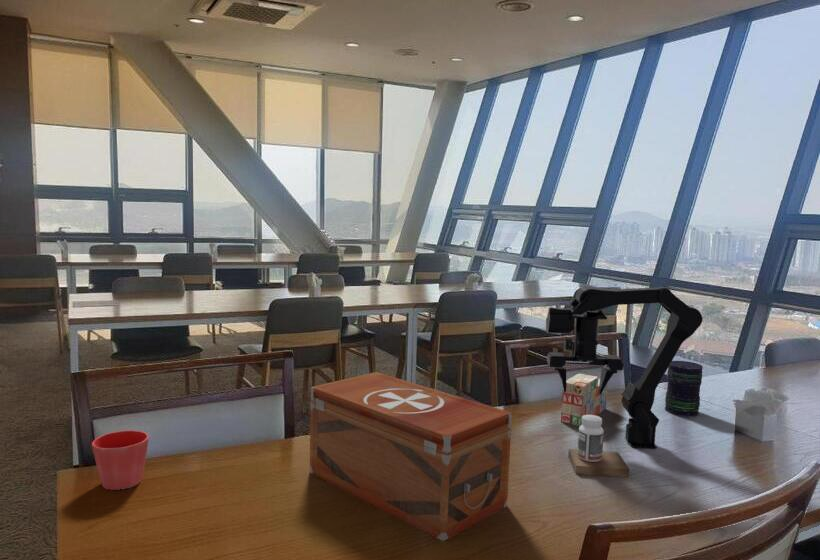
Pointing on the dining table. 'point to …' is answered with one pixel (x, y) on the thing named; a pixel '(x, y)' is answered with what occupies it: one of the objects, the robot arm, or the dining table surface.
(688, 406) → the storage jar
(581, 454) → the pill bottle
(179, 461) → the dining table surface
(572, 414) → the stack of blocks
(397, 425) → the wooden box
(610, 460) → the wooden board
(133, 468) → the flower pot
